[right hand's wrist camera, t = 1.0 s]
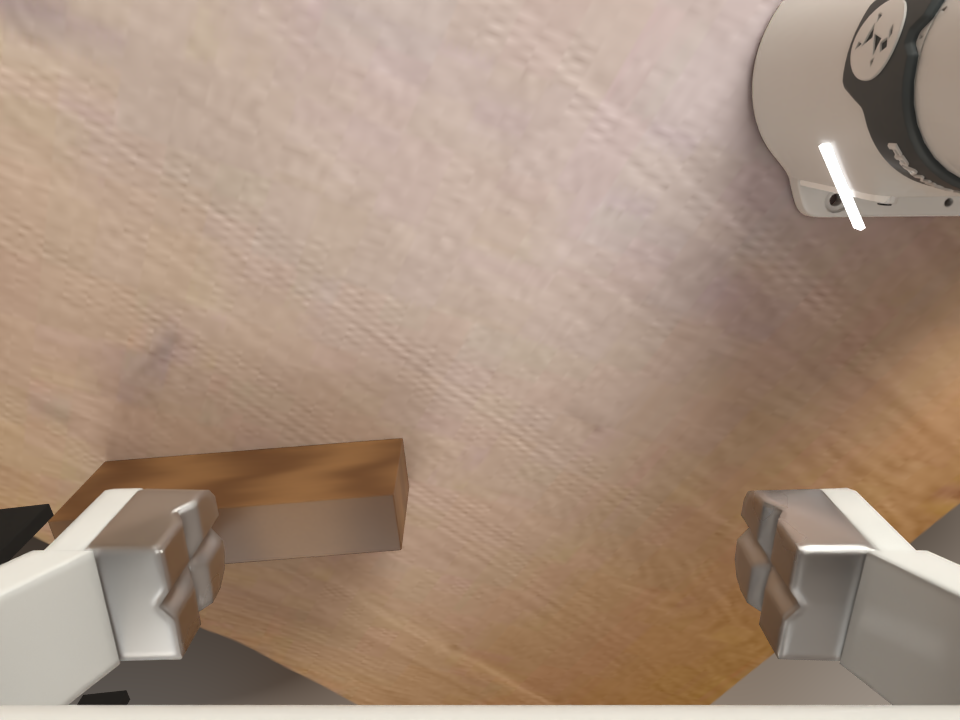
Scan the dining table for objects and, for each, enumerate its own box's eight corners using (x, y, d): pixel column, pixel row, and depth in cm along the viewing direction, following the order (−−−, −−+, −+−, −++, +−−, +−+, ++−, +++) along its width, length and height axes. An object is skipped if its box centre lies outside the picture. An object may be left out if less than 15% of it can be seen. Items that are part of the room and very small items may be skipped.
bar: (402, 437, 52) (393, 494, 45) (409, 488, 54) (401, 550, 47) (104, 461, 52) (47, 521, 45) (121, 510, 54) (68, 576, 47)
